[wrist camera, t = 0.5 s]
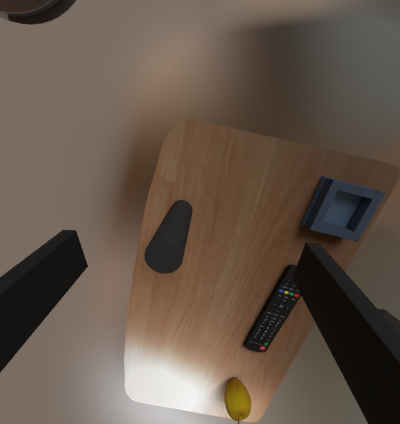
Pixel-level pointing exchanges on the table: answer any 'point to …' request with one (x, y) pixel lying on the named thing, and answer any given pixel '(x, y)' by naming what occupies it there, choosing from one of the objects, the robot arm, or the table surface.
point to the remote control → (274, 312)
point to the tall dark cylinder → (170, 239)
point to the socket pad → (341, 208)
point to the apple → (237, 400)
